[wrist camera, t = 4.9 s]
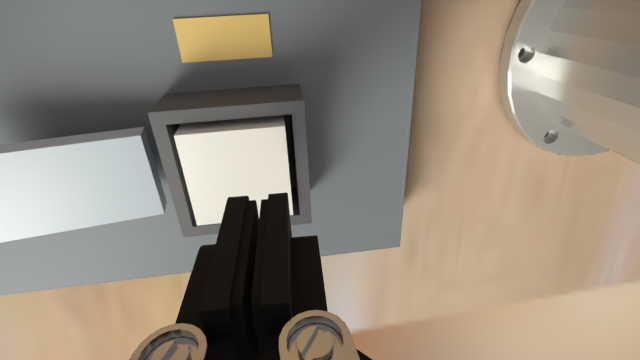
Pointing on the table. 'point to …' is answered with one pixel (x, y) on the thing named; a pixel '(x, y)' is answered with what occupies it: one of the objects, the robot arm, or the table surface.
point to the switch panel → (213, 115)
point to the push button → (233, 163)
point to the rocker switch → (77, 183)
